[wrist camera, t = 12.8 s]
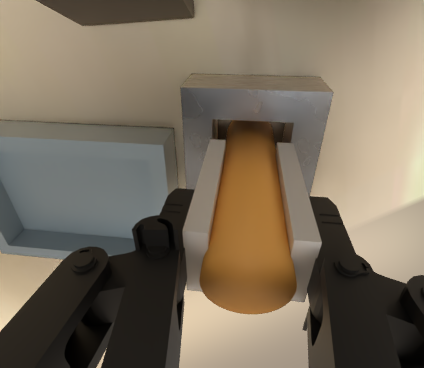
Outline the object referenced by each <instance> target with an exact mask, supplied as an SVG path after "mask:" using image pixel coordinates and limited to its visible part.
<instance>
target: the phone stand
mask: <svg viewBox="0 0 424 368" xmlns="http://www.w3.org/2000/svg"><path fill="white" fill-rule="evenodd" d="M36 1H38V2H40V3H42V4H43V5H45V6H47V7H49V8H51V9H53V10H54V11H56V12H58V13H60V14H62V15H64V16H65V17H67V18H69V19H71V20H73V21H75V22H76V23H78V24H80V25H82V26H86V25H100V24H114V23H128V22H142V21H156V20H169V19H183V18H194V3H193V0H36Z"/></svg>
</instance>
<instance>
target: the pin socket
mask: <svg viewBox="0 0 424 368" xmlns="http://www.w3.org/2000/svg"><path fill="white" fill-rule="evenodd" d="M332 97H333V91H332V90H331V89H330V88H329V86H328V85H327V84H326V83H325V82H324V81H323V80H322V79H321V77H299V76H261V75H222V74H191V75H190V77H189V78H188V79H187V80H186V81H185V83H184V84H183V85H182V86H181V103H182V120H183V137H184V154H185V171H186V187H187V189H194V190H195V188H196V184H197V181H198V178H199V175H200V171H201V168H202V165H203V161H204V158H205V155H206V151H207V148H208V145H209V142H210V139H216V140H218V119H219V120H243V121H267V122H285V125H284V132H283V139H282V143H293V144H294V147H295V151H296V154H297V158H298V161H299V164H300V168H301V171H302V175H303V178H304V182H305V185H306V189H307V192H308V196H310V192H311V187H312V183H313V179H314V174H315V170H316V166H317V162H318V157H319V153H320V149H321V144H322V140H323V136H324V131H325V127H326V123H327V118H328V114H329V110H330V105H331V101H332Z"/></svg>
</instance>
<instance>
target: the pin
mask: <svg viewBox="0 0 424 368" xmlns="http://www.w3.org/2000/svg"><path fill="white" fill-rule="evenodd" d="M275 154H276V149H275V142H274V136H273V130H272V127H271V124H270V123H269V122H267V121H243V120H233V121H232V122H231V123H230V125H229V127H228V130H227V135H226V149H225V157H224V163H223V168H222V174H221V180H220V185H219V191H218V197H217V202H216V208H215V214H214V219H213V225H212V231H211V236H210V242H209V248H208V250H207V251H206V253H205V255H204V258H203V262H202V267H201V272H200V279H199V282H200V287H201V289H202V291H203V293H204V294H205V296H206V297H207V298H208V299H209V300H210V301H212V302H213V303H214V304H216V305H218V306H219V307H221V308H224V309H226V310H229V311H233V312H236V313H243V314H262V313H268V312H272V311H275V310H277V309H279V308H281V307H283V306H285V305H286V304H287V303H289V302H290V301H291V299H292V298H293V297H294V295H295V293H296V289H297V281H296V275H295V268H294V263H293V260H292V258H291V255H290V248H289V242H288V235H287V228H286V222H285V215H284V208H283V202H282V195H281V188H280V182H279V175H278V169H277V162H276V155H275Z"/></svg>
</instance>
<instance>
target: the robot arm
mask: <svg viewBox="0 0 424 368" xmlns="http://www.w3.org/2000/svg"><path fill="white" fill-rule="evenodd" d="M225 149H226V140H216V139H210V142H209V145H208V148H207V151H206V155H205V158H204V161H203V165H202V168H201V171H200V175H199V178H198V181H197V184H196V188H195V190H194V189H180V188H176V189H174V190H173V191H172V192H171V193H170V194H169V195H168V196H167V198H166V201H165V203H164V205H163V208H162V210H161V212H160V215H155V216H149V217H146V218H144V219H141V220H140V221H139V222H137V223H136V224H135V225H134V227H133V229H132V234H133V239H134V244H135V248H136V250H135V251H132V252H129V253H125V254H119V255H113V256H108V254H107V253H106V251H105V250H104V249H102V248H99V247H90V246H89V247H85V248H81V249H78V250H76V251H74V252H72V253H71V254H70V255H69V256H67V257H66V258H65V259H64V260H63V261H62V262H61V263H60V265H59V266H58V267H57V268H56V269H55V270H54V271H53V273H52V274H51V275H50V276H49V277H48V278H47V279H46V280H45V282H44V283H43V284H42V285H41V286H40V287H39V288H38V290H37V291H36V292H35V293H34V294H33V295H32V296H31V298H30V299H29V300H28V301H27V302H26V303H25V304H24V305H23V307H22V308H21V309H20V310H19V311H18V312H17V313H16V315H15V316H14V317H13V318H12V319H11V320H10V321H9V322H8V324H7V325H6V326H5V327H4V328H3V329H2V330H1V332H0V368H96V367H97V365H98V363H99V361H100V360H101V358H102V356H103V354H104V352H105V350H106V353H105V356H104V360H103V363H102V366H101V368H179V358H180V348H181V347H180V346H181V335H182V324H183V312H184V290H185V286H186V284H187V290H192V291H201V292H203V291H202V289H201V287H200V282H199V279H200V272H201V267H202V262H203V258H204V255H205V253H206V251H207V250H208V248H209V242H210V236H211V231H212V225H213V219H214V214H215V208H216V202H217V197H218V191H219V185H220V180H221V174H222V168H223V163H224V157H225ZM275 155H276V162H277V169H278V175H279V182H280V188H281V195H282V202H283V208H284V215H285V222H286V228H287V235H288V242H289V248H290V255H291V258H292V260H293V263H294V268H295V275H296V281H297V289H296V293H295V295H294V297H293V298H292V299H291V301H298V302H305V298H306V295H307V293H308V297H309V303H310V306H309V309H308V313H307V316H306V319H305V322H304V326H303V330H305V331H306V330H308V359H309V368H424V276H423V275H420V276H414V277H413V278H411V279H410V280H409V281H408V282H407V284H405V283H402V282H399V281H396V280H393V279H390V278H387V277H384V276H382V275H379V274H377V273H375V272H374V271H373V270H372V268H371V266H370V264H369V263H368V262H367V261H366V260H364V259H363V258H362V257H360V256H358V255H357V254H356V253H355V251H354V248H353V246H352V243H351V241H350V238H349V236H348V233H347V231H346V228H345V226H344V225H343V221H342V219H341V217H340V214H339V211H338V209H337V206H336V205H335V204H334V203H333V202H332V201H331V200H330V199H328V198H326V197H311V196H308V192H307V189H306V185H305V182H304V178H303V175H302V171H301V168H300V164H299V161H298V158H297V154H296V151H295V147H294V144H293V143H277V147H276V154H275ZM106 348H107V349H106Z"/></svg>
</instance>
